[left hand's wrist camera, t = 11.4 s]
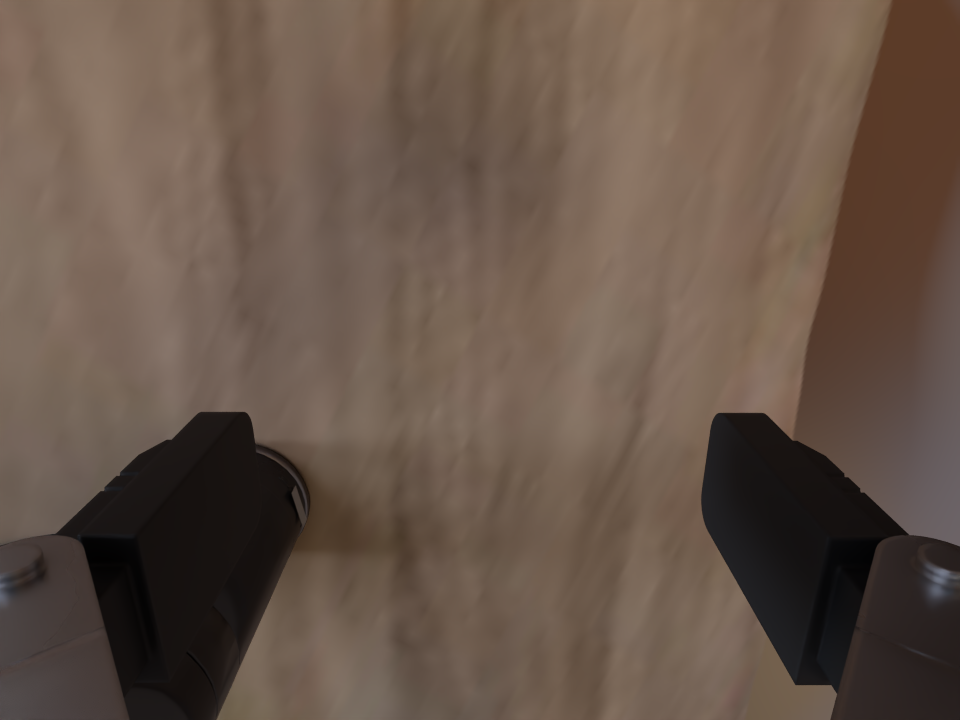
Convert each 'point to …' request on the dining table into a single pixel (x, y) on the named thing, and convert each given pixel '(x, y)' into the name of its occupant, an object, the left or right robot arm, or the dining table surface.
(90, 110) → the dining table surface
